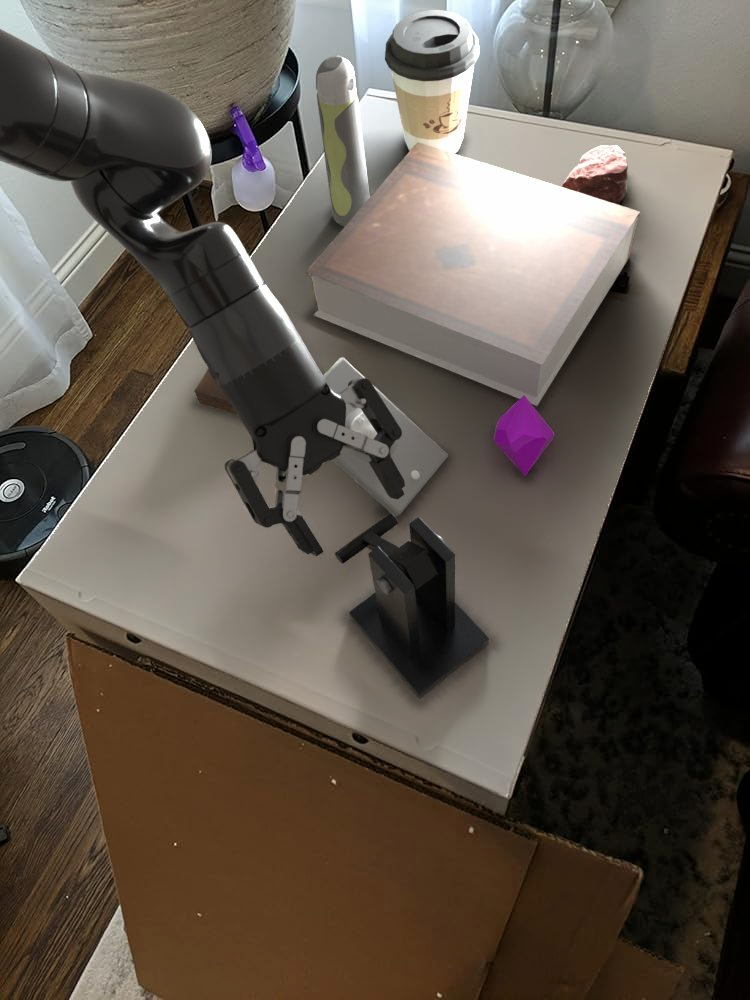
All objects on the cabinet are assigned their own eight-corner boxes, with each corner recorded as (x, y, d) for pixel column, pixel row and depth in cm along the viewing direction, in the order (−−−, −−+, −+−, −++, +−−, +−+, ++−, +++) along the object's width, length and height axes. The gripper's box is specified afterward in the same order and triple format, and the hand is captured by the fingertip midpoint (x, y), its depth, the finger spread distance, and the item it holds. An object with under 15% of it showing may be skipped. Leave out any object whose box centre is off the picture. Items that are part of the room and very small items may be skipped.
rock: (622, 190, 109) (559, 177, 110) (637, 141, 104) (572, 128, 105) (618, 230, 102) (551, 216, 102) (635, 179, 97) (565, 165, 98)
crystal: (485, 446, 87) (487, 419, 83) (525, 418, 88) (528, 390, 85) (521, 479, 85) (525, 452, 81) (561, 449, 86) (566, 421, 82)
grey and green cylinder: (357, 234, 105) (339, 81, 88) (325, 221, 106) (300, 68, 89) (379, 210, 107) (365, 56, 90) (347, 197, 108) (327, 44, 91)
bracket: (349, 617, 78) (329, 539, 66) (417, 566, 80) (410, 482, 68) (419, 699, 74) (412, 633, 61) (489, 643, 76) (496, 568, 63)
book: (419, 187, 108) (417, 142, 103) (629, 257, 99) (639, 211, 94) (313, 315, 98) (305, 272, 93) (536, 405, 89) (542, 364, 84)
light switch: (402, 513, 82) (289, 410, 80) (382, 525, 87) (276, 429, 86) (453, 452, 85) (345, 351, 84) (431, 467, 90) (329, 373, 89)
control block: (281, 427, 90) (275, 404, 87) (198, 404, 93) (189, 380, 89) (312, 371, 94) (307, 347, 91) (232, 350, 96) (224, 325, 93)
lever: (342, 567, 73) (329, 545, 72) (396, 527, 75) (385, 505, 74) (397, 605, 65) (383, 580, 64) (457, 559, 66) (445, 534, 65)
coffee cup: (414, 183, 109) (409, 71, 96) (376, 134, 115) (367, 23, 102) (493, 153, 111) (498, 39, 98) (452, 106, 116) (452, -6, 104)
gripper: (190, 403, 62) (303, 581, 67) (345, 307, 66) (443, 481, 71) (173, 405, 69) (277, 566, 74) (314, 317, 73) (405, 475, 78)
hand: (358, 524), depth 72 cm, fingers open, 8 cm apart
